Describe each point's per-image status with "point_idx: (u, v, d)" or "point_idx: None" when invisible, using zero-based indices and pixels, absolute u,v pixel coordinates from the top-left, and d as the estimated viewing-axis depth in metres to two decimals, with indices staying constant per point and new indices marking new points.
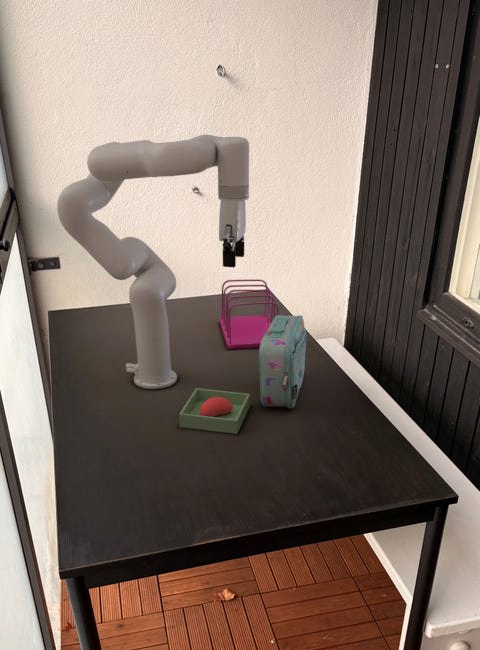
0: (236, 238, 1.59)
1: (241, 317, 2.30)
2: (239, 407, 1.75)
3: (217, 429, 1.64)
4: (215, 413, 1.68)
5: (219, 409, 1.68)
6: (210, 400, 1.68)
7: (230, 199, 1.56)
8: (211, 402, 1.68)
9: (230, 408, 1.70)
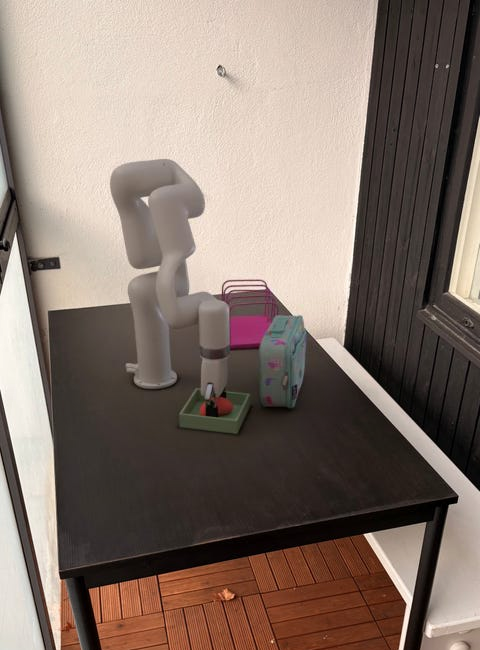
0: (218, 394, 1.62)
1: (241, 317, 2.30)
2: (239, 407, 1.75)
3: (217, 429, 1.64)
4: None
5: (219, 409, 1.68)
6: None
7: (211, 359, 1.59)
8: None
9: (230, 408, 1.70)
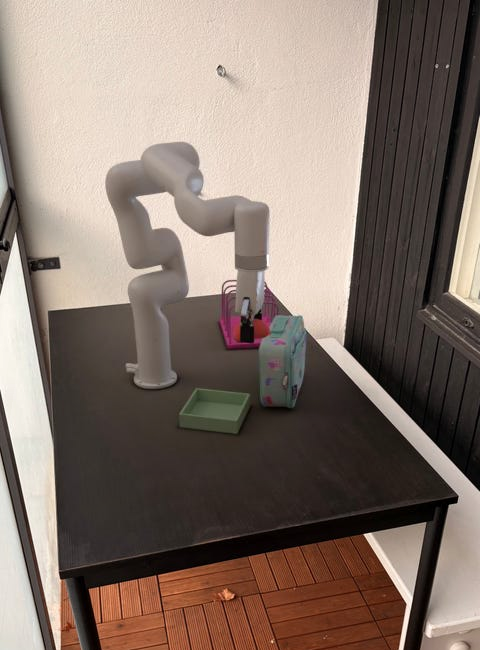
0: (255, 311, 1.43)
1: None
2: (239, 407, 1.75)
3: (217, 429, 1.64)
4: None
5: (255, 331, 1.49)
6: None
7: (248, 270, 1.40)
8: None
9: (267, 331, 1.51)
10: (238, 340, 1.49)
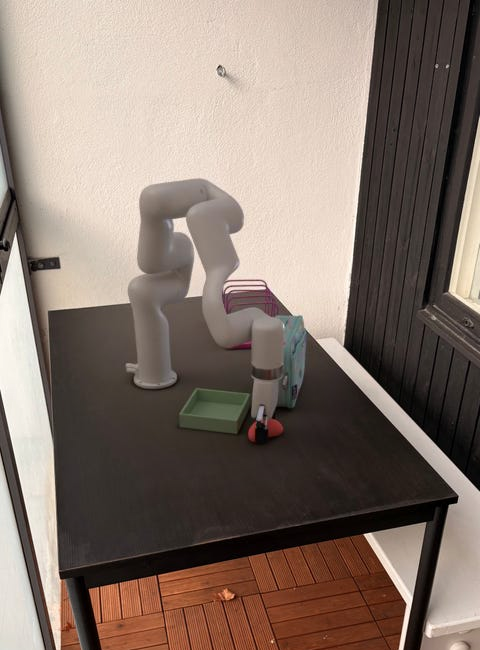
0: (269, 417, 1.53)
1: None
2: (239, 407, 1.75)
3: (217, 429, 1.64)
4: None
5: (269, 432, 1.59)
6: None
7: (264, 380, 1.50)
8: None
9: (280, 430, 1.61)
10: (253, 440, 1.58)
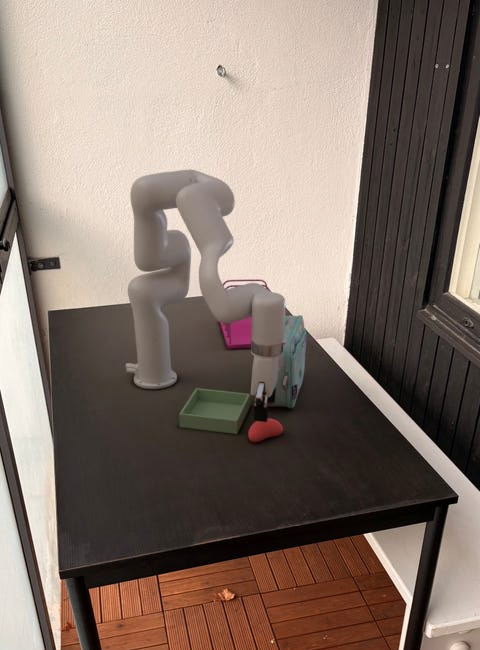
0: (269, 394, 1.50)
1: None
2: (239, 407, 1.75)
3: (217, 429, 1.64)
4: (265, 436, 1.59)
5: (269, 432, 1.59)
6: (260, 422, 1.59)
7: (264, 357, 1.47)
8: (261, 424, 1.58)
9: (280, 430, 1.61)
10: (253, 440, 1.58)
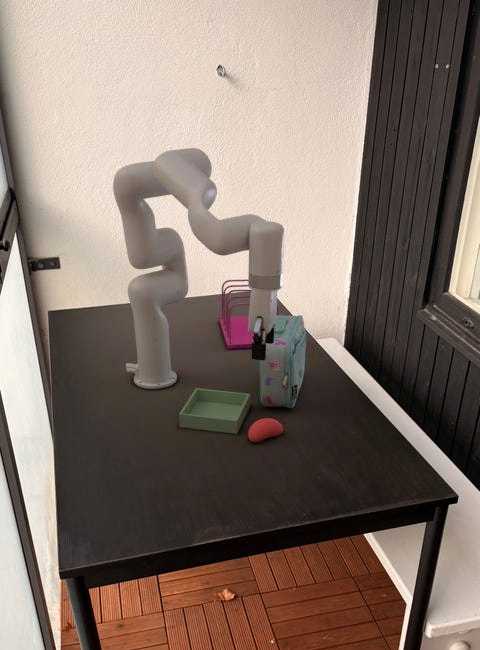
0: (267, 330, 1.44)
1: (241, 317, 2.30)
2: (239, 407, 1.75)
3: (217, 429, 1.64)
4: (265, 436, 1.59)
5: (269, 432, 1.59)
6: (260, 422, 1.59)
7: (262, 289, 1.41)
8: (261, 424, 1.58)
9: (280, 430, 1.61)
10: (253, 440, 1.58)
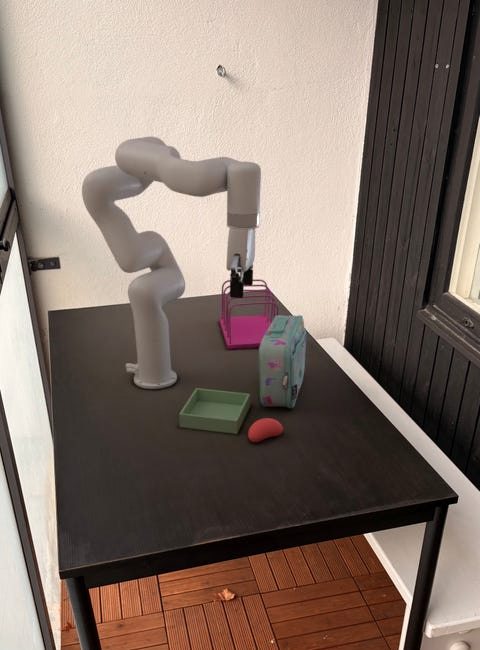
0: (245, 268, 1.51)
1: (241, 317, 2.30)
2: (239, 407, 1.75)
3: (217, 429, 1.64)
4: (265, 436, 1.59)
5: (269, 432, 1.59)
6: (260, 422, 1.59)
7: (239, 227, 1.47)
8: (261, 424, 1.58)
9: (280, 430, 1.61)
10: (253, 440, 1.58)
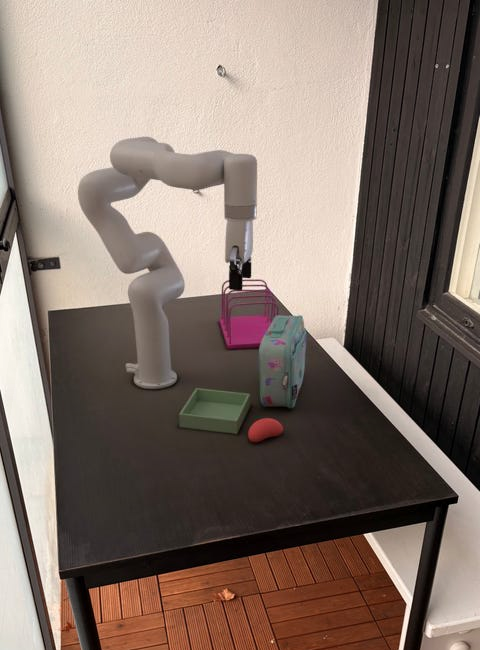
0: (243, 260, 1.51)
1: (241, 317, 2.30)
2: (239, 407, 1.75)
3: (217, 429, 1.64)
4: (265, 436, 1.59)
5: (269, 432, 1.59)
6: (260, 422, 1.59)
7: (237, 219, 1.48)
8: (261, 424, 1.58)
9: (280, 430, 1.61)
10: (253, 440, 1.58)
